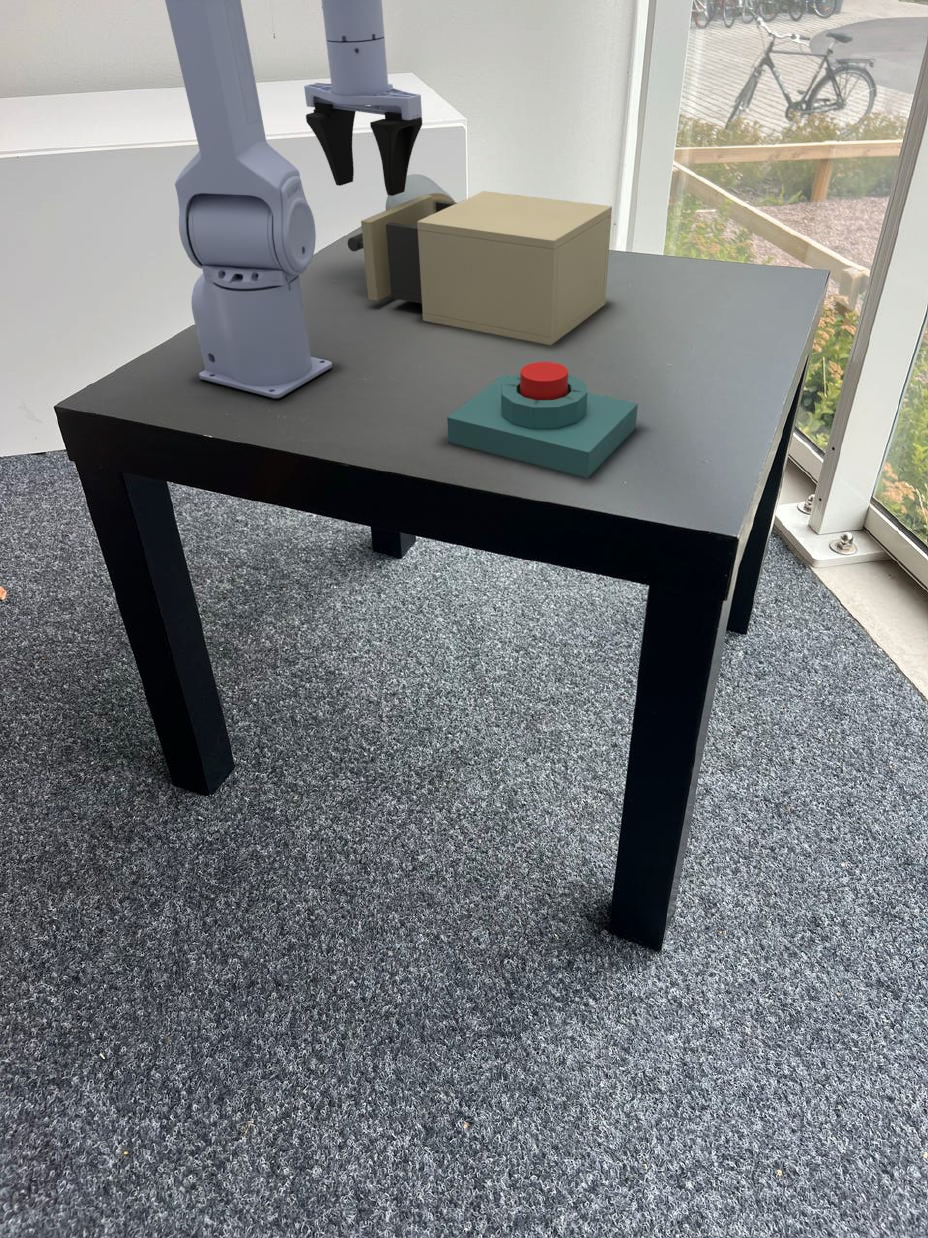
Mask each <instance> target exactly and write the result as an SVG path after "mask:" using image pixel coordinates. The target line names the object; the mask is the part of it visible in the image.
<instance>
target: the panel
mask: <svg viewBox="0 0 928 1238" xmlns="http://www.w3.org/2000/svg"><path fill="white" fill-rule="evenodd" d="M638 408H639V403H638V402H634V401H633V402H632V401H627V400H624V399H619V398H614V397H610V396H605V395H600V394H595V393H591V392H588V390H587V384H586V382H585V381H584V380H582V379H580V378H578V377H577V376H575V375H574V374H570V373H568V390H567V395H566V396H565V397H562V398H559V399H555V400H534V399H529V398H525V397H523V396H522V395H521V394H520V373H518V374H515V375H507V374H503V375H501V376H500V377H499V378H497V379H496V380H494V381H493V382H492V383H491V384H489V385H488V386H487V387H485V388H484V389H483V390H481V391H480V392H479V393H477V394H476V395H475V396H474V397H472V398H471V399H469V400H468V401H467V402H465V403H464V404H463V405H461V406H460V407H459V408H457V409H456V410H454V411H453V412H451V414H449V415H448V416H446V417H447V418H446V419H447V439H448V440H447V442H448V443H451V444H454V445H458V446H462V447H466V448H470V449H473V450H476V451H482V452H485V453H489V454H493V455H496V456H499V457H505V458H507V459H512V460H516V461H519V462H524V463H528V464H532V465H534V466H539V467H543V468H546V469H550V470H554V471H558V472H562V473H566V474H570V475H574V476H577V477H581V478H585V479H589V478H590V476H592V475H593V474H594V472H595V471H596V470H597V469H598V468H600V467H601V465H602V464H603V463H604V462H605V461H606V460H607V459H608V458H609V457H610V456H611V455H612V454H613V453H614V452H615V451H616V450H617V448H618V447H619V446H621V444H622V443H623V442H624V441H626V439H627V438H628V437H629V436H630V435H631V434H632V433H633V432H634V431H635V430H636V428H637V417H638Z"/></svg>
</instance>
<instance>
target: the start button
mask: <svg viewBox="0 0 928 1238" xmlns="http://www.w3.org/2000/svg"><path fill="white" fill-rule="evenodd" d="M519 374H520V394H521V395H522V396H523V397H525V398H529V399H534V400H555V399H559V398H562V397H565V396H566V395H567V390H568V374H569V369H568V368H567V367H566V366H565V365H563V364H560V363H557V362H552V361H535V362H531V363H528V364H526V365H524V366H523V367H522V368H521V369H520V373H519Z"/></svg>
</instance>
